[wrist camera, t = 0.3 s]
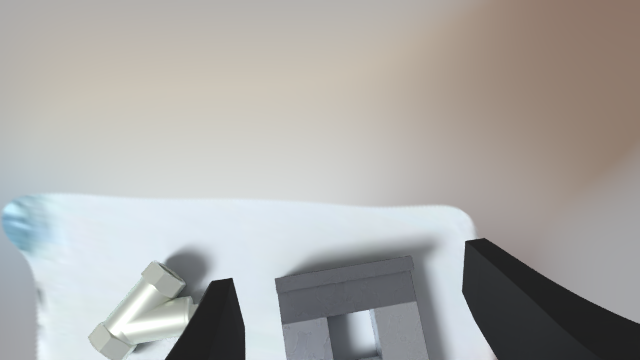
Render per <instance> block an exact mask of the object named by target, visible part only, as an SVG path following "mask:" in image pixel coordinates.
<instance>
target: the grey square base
mask: <svg viewBox="0 0 640 360" xmlns="http://www.w3.org/2000/svg"><path fill="white" fill-rule="evenodd" d="M410 270H414V266H413V262H412V257H411V256H406V257H400V258H394V259H388V260H382V261H376V262H370V263H364V264H358V265H353V266H347V267H341V268H335V269H329V270H323V271H317V272H311V273H305V274H299V275H293V276H287V277H281V278H275V283H276V290H277V293H278V300H279V307H280V314H281V322H282V329H283V336H284V343H285V351H286V358H287V360H333V354H332V348H331V341H330V335H329V329H328V323H327V317H330V316H336V315H341V314H347V313H353V312H358V311H364V310H369V311H370V316H371V321H372V327H373V332H374V337H375V343H376V348H377V353H378V356H373V357H368V358H363V359H357V360H429V357H428V353H427V348H426V343H425V339H424V334H423V329H422V325H421V320H420V315H419V311H418V306H417V301H416V297H415V292H414V287H413V283H412V278H411V273H410Z"/></svg>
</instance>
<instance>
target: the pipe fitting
mask: <svg viewBox="0 0 640 360" xmlns="http://www.w3.org/2000/svg"><path fill="white" fill-rule="evenodd" d="M185 286H186V283H185V282H184V280H183V279H181V278H180V277H179V276H178V275H177V274H176V273H174V272H173V271H172V270H170V269H169V268H168V267H166V266H165V265H163V264H162V263H160V262H158V261H152V262H151V263H150V264H149V265H148V267H147V268H146V269H145V270H144V271H143V272H142V277H141V279H140V280H139V281H138V282H137V283H136V285H135V286H134V287H133V288H132V289H131V291H130V292H129V293H128V294H127V295H126V297H125V298H124V299H123V300H122V301H121V302H120V304H119V305H118V306H117V307H116V308H115V310H114V311H113V312H112V313H111V314H110V315H109V317H108V318H107V319H106V320H105V321H103V322H101V323H100V324H99V325H98V326H97V327H96V328H95V329H94V330H93V332H92V333H91V334H90V335H89V336H88V338H89V341H90V343H91V344H92V346H93V347H94V348H95V349H96V350H97V351H98V352H99V353H101V354H102V355H104V356H105V357H107V358H109V359H111V360H125V359H126V358H127V357H128V356H129V355H130V354H131V352H132V351H133V350H134V349H135V347H136V346H137V344H138V343H144V342H150V341H156V340H163V339H169V338H175V337H180V336H181V334H182V333H183V331H184V329H185V328H186V326H187V324H188V323H189V321H190V319H191V318H192V316H193V314H194V312H195V310H196V309H197V307H198V305H199V304H195V305H194V304H193V300H192V297H191V296H187V297H180V298H175V297H177V295H178V294H179V293H180V292H181V291H182V289H183V288H184V287H185Z"/></svg>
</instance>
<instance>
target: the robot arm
mask: <svg viewBox="0 0 640 360" xmlns="http://www.w3.org/2000/svg"><path fill="white" fill-rule="evenodd" d="M462 293H463V295H464V297H465V300H466V302H467V304H468V307H469V309H470V311H471V313H472V316H473V318H474V320H475V322H476V324H477V325H478V327H479V329H480V330H481V332H482V334H483V335H484V337H485V339H486V340H487V342H488V344H489V345H490V347H491V349H492V350H493V352H494V354H495V355H496V357H497V359H498V360H640V324H638V323H636V322H634V321H631V320H628V319H626V318H624V317H622V316H619V315H617V314H615V313H613V312H611V311H609V310H606V309H604V308H602V307H600V306H598V305H596V304H594V303H592V302H590V301H588V300H586V299H584V298H582V297H580V296H578V295H576V294H574V293H573V292H571V291H569V290H567V289H566V288H564V287H562V286H560V285H558V284H556V283H555V282H553V281H551V280H550V279H548V278H546V277H545V276H543V275H541V274H540V273H538V272H537V271H535V270H534V269H531V268H530V267H529V266H527V265H526V264H524V263H523V262H521V261H519V260H518V259H516V258H515V257H513V256H511V255H510V254H509V253H507V252H506V251H504V250H503V249H501V248H500V247H498V246H497V245H495V244H493V243H492V242H490V241H489V240H487V239H485V238H482V239H475V240H469V241H465V255H464V270H463V285H462ZM165 360H245V326H244V322H243V318H242V314H241V310H240V306H239V302H238V298H237V294H236V290H235V286H234V283H233V279H232V278H228V279H222V280H216V281H212V282H211V283H210V284H209V286H208V288H207V290H206V292H205V294H204V296H203V298H202V299H201V301H200V303H199V305H198V307H197V309H196V310H195V312H194V314H193V316H192V318H191V319H190V321H189V323H188V324H187V326H186V328H185V329H184V331H183V333H182V334H181V336H180V337H179V339H178V341H177V342H176V344H175V345H174V347H173V348H172V350H171V351H170V353H169V354H168V356H167V357H166V358H165Z"/></svg>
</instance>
